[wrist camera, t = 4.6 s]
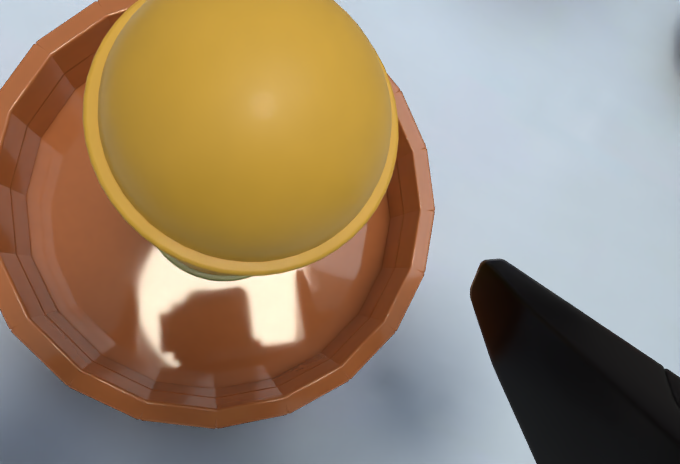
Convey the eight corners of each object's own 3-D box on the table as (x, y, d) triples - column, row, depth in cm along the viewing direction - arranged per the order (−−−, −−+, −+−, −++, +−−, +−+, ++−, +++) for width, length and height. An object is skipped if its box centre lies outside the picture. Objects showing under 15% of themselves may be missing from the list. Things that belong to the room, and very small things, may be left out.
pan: (365, 422, 20) (396, 450, 17) (-38, 371, 17) (-94, 394, 14) (423, 85, 22) (461, 52, 19) (69, -21, 19) (41, -83, 16)
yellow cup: (280, 292, 20) (435, 328, 7) (131, 265, 18) (-42, 242, 5) (307, 156, 20) (495, -55, 7) (165, 121, 19) (86, -212, 6)
